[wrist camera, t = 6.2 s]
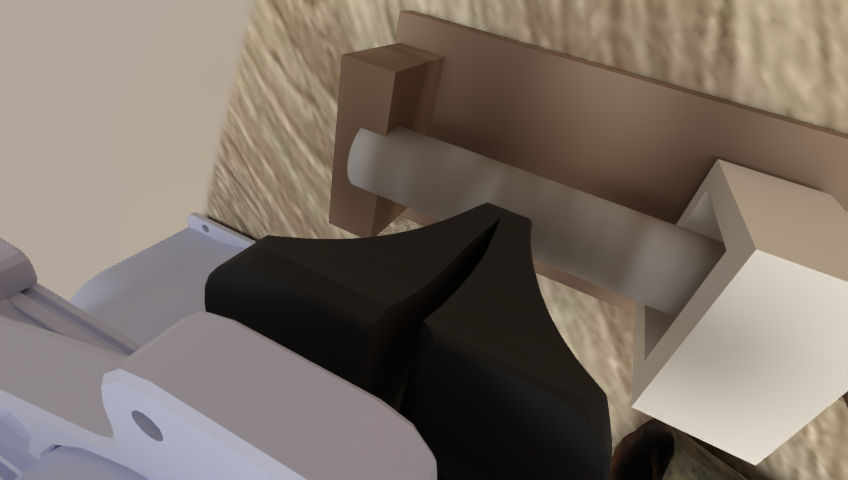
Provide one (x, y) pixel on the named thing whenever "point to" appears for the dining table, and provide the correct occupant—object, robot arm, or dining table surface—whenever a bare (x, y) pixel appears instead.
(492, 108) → the rail
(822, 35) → the dining table surface
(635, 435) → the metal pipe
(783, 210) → the collar
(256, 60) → the dining table surface
